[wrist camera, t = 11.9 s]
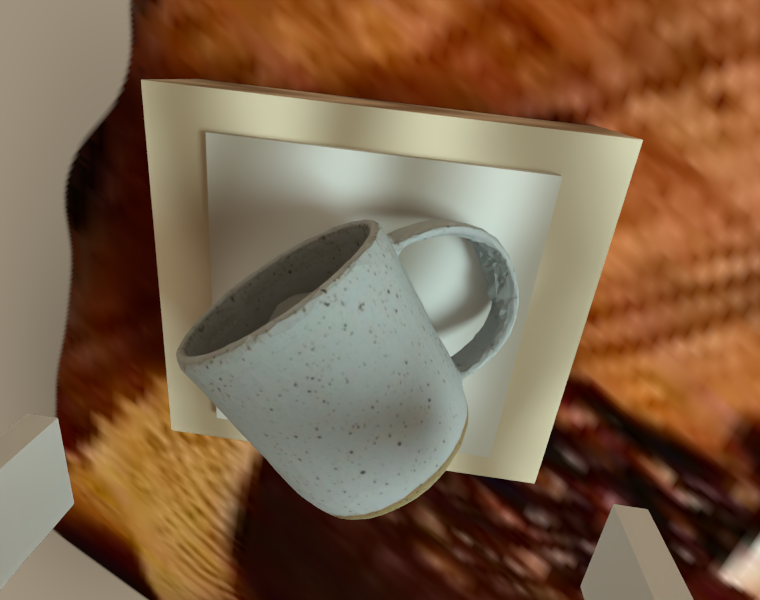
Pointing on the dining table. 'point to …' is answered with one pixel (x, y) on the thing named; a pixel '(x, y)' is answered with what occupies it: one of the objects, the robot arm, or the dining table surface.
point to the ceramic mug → (347, 364)
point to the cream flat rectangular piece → (389, 229)
